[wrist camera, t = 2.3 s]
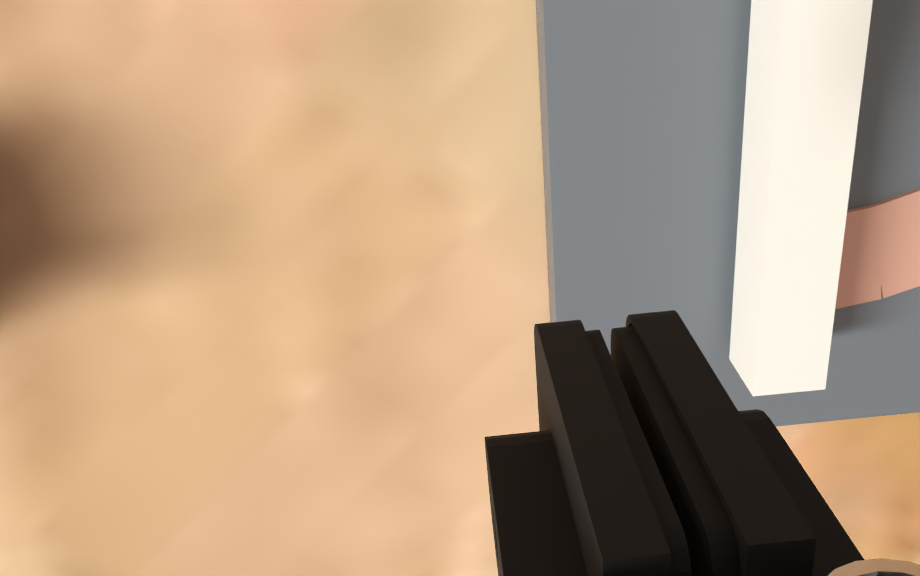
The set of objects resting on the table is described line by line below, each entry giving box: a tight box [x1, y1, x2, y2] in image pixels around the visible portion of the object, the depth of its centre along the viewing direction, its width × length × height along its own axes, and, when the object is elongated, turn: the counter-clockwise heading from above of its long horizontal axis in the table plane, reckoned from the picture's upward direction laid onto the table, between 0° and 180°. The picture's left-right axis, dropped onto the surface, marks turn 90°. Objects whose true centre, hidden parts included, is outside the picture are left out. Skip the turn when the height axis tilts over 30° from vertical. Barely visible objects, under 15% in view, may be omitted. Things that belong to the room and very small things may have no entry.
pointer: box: [729, 0, 873, 396], centre depth 20 cm, size 20×4×2 cm, turn 5°
